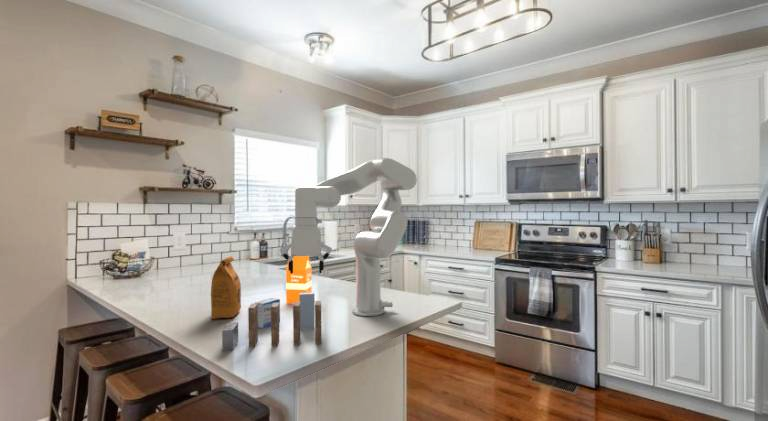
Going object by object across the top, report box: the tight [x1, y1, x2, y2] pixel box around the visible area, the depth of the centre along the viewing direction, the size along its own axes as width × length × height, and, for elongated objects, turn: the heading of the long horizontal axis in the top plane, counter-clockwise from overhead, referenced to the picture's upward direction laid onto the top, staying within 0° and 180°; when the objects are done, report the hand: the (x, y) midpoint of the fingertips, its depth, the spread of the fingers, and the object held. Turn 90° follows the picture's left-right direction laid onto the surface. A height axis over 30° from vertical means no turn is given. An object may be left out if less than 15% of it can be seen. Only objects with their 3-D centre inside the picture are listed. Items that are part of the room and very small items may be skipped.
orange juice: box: [285, 254, 313, 304], centre depth 168 cm, size 8×9×20 cm
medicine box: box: [254, 297, 281, 330], centre depth 136 cm, size 8×4×9 cm, turn 148°
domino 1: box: [247, 302, 259, 349], centre depth 117 cm, size 2×5×12 cm, turn 9°
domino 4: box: [299, 292, 316, 330], centre depth 133 cm, size 2×5×12 cm, turn 99°
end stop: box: [221, 321, 239, 352], centre depth 116 cm, size 3×7×6 cm, turn 9°
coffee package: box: [210, 255, 242, 320], centre depth 148 cm, size 10×12×22 cm
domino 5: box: [314, 300, 322, 345], centre depth 120 cm, size 2×5×12 cm, turn 9°
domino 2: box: [270, 302, 280, 348], centre depth 118 cm, size 2×5×12 cm, turn 9°
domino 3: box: [292, 302, 302, 346], centre depth 119 cm, size 2×5×12 cm, turn 9°
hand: (306, 272), depth 132 cm, fingers open, 9 cm apart
